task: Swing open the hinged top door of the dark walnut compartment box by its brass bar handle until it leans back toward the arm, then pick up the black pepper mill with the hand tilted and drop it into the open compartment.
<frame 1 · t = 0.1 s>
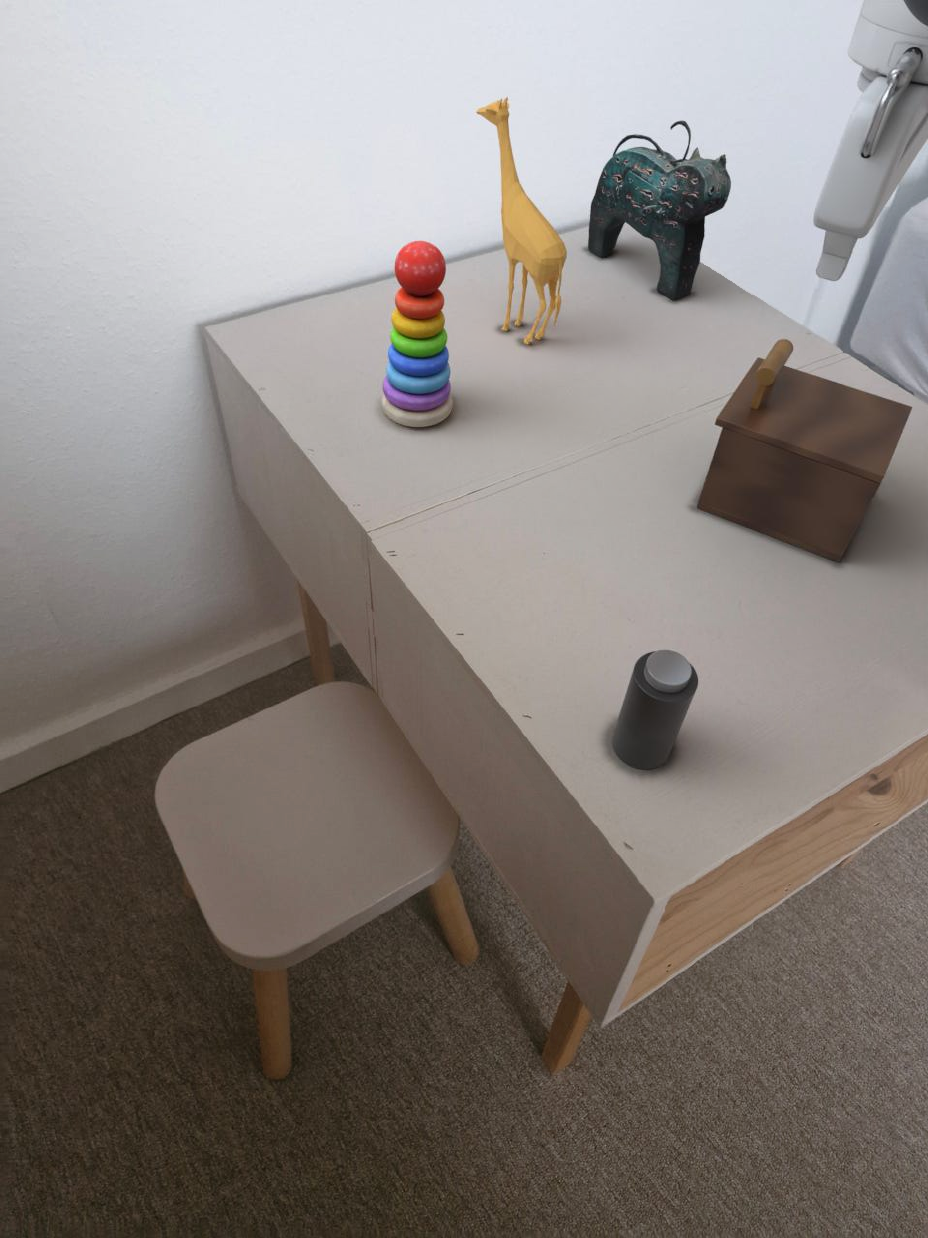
hand: (844, 250, 63), 28 cm above the table, tool pointing down, fingers open, 8 cm apart
ceramic cat: (636, 275, 119), on the table
giraffe: (510, 327, 108), on the table
chest door: (823, 395, 79), point 12 cm above the table, hinge at 0.0°
chest: (783, 499, 88), on the table
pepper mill: (640, 744, 67), on the table
stacking toy: (417, 411, 96), on the table
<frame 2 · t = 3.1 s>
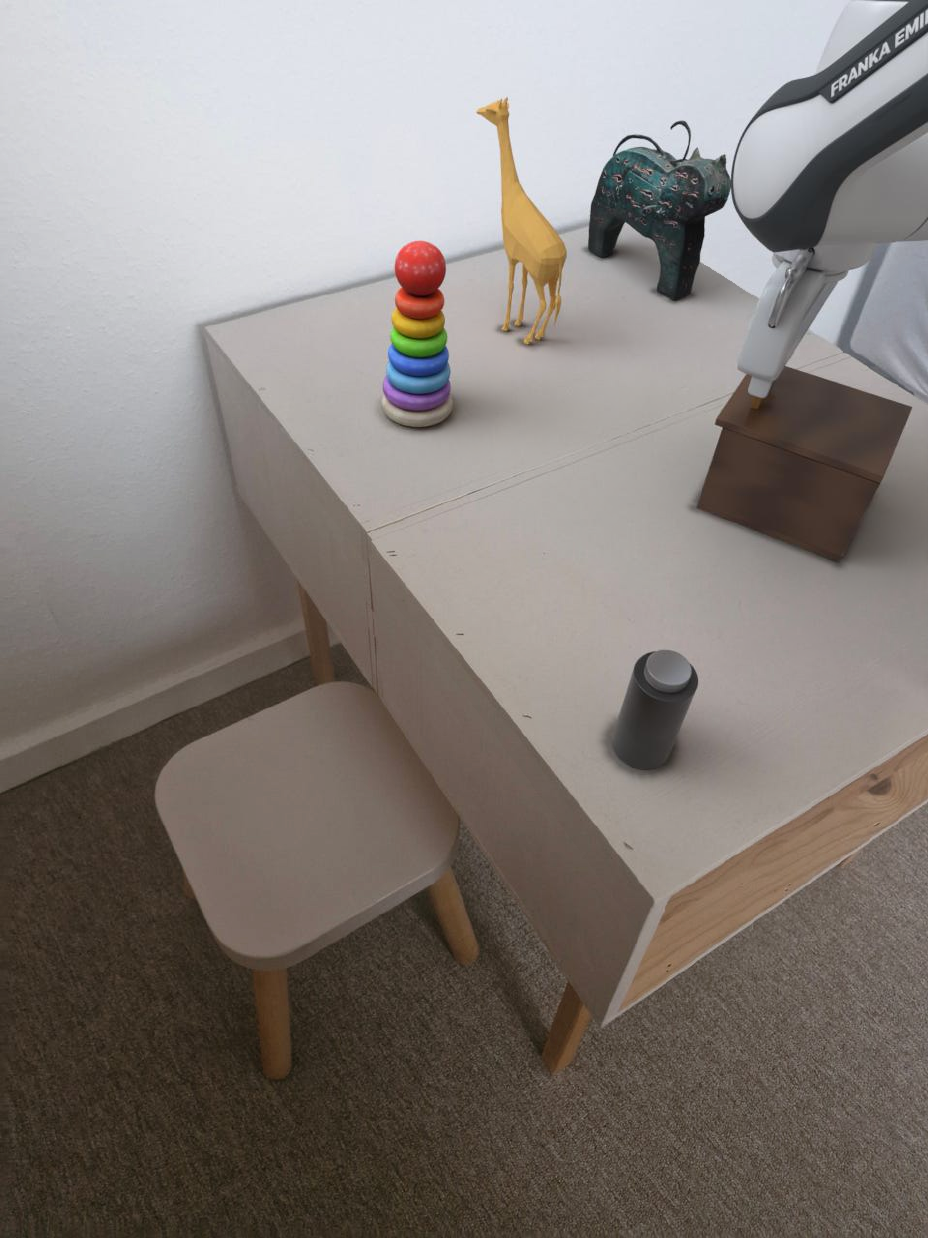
hand: (770, 373, 80), 13 cm above the table, tool pointing down, fingers closed on chest door, 6 cm apart
chest door: (823, 395, 79), point 12 cm above the table, hinge at 0.0°, touching gripper
everything else where it was.
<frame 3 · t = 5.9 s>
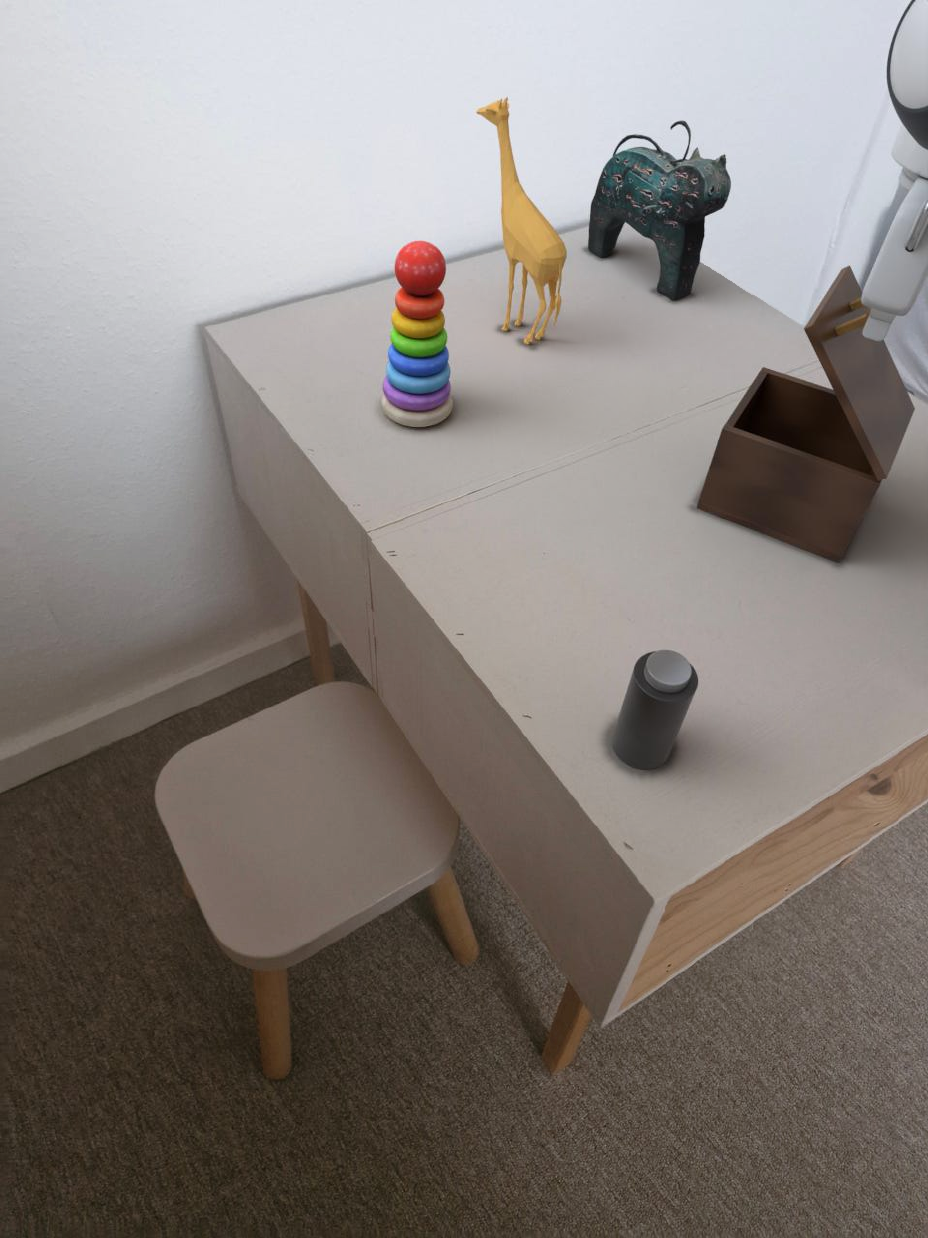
hand: (883, 316, 72), 21 cm above the table, tool pointing down, fingers closed on chest door, 6 cm apart
chest door: (889, 362, 74), point 17 cm above the table, hinge at 46.6°, touching gripper
everything else where it was.
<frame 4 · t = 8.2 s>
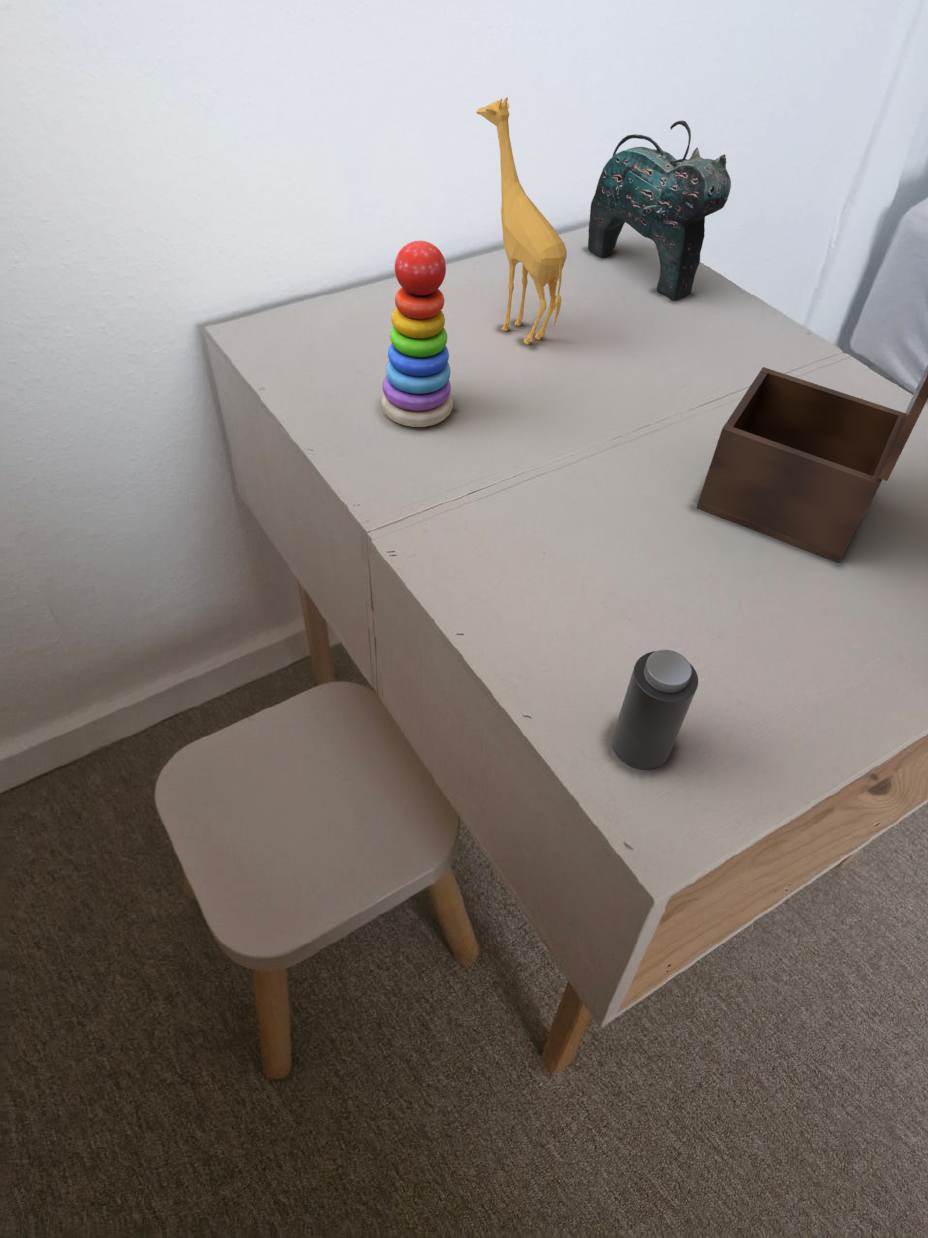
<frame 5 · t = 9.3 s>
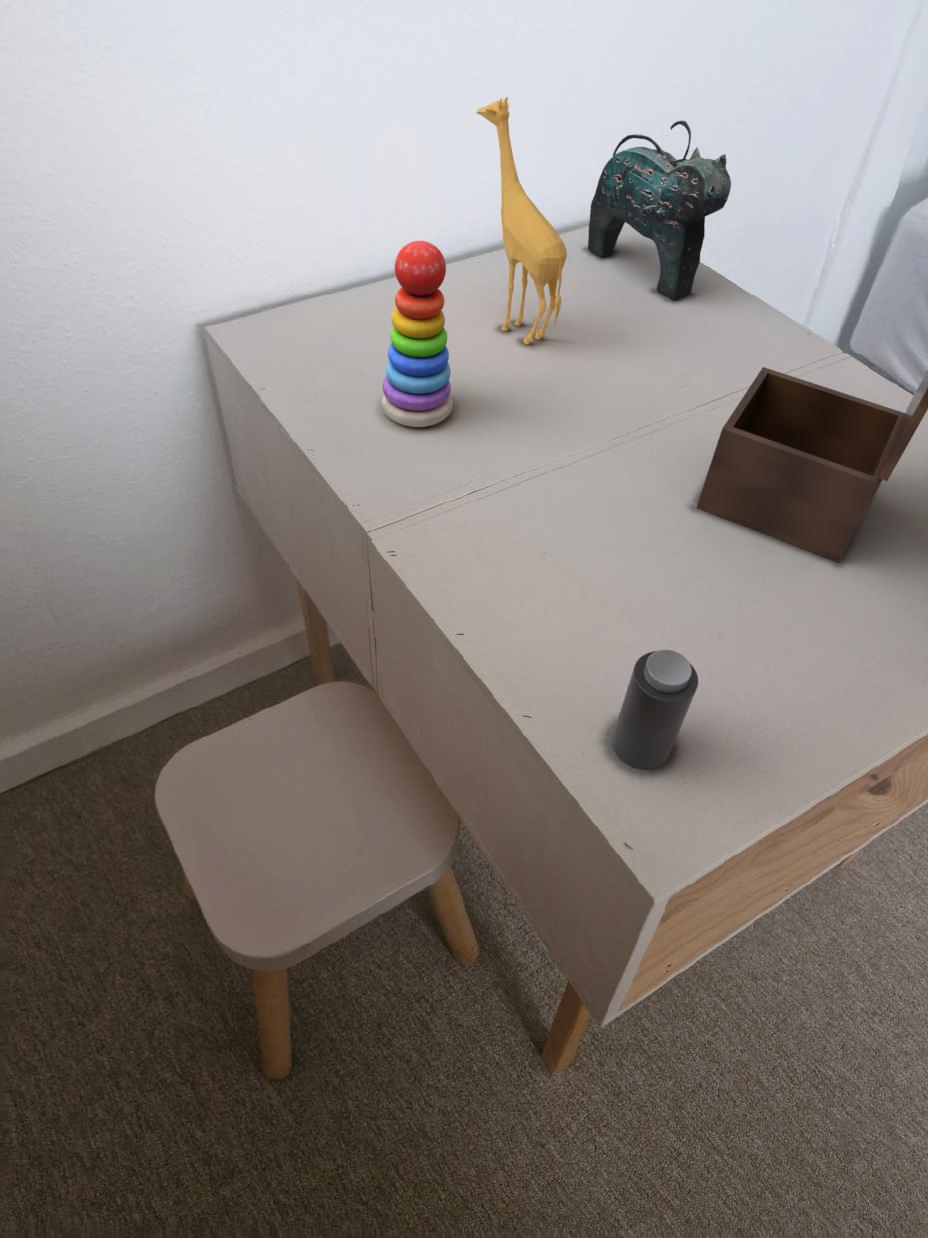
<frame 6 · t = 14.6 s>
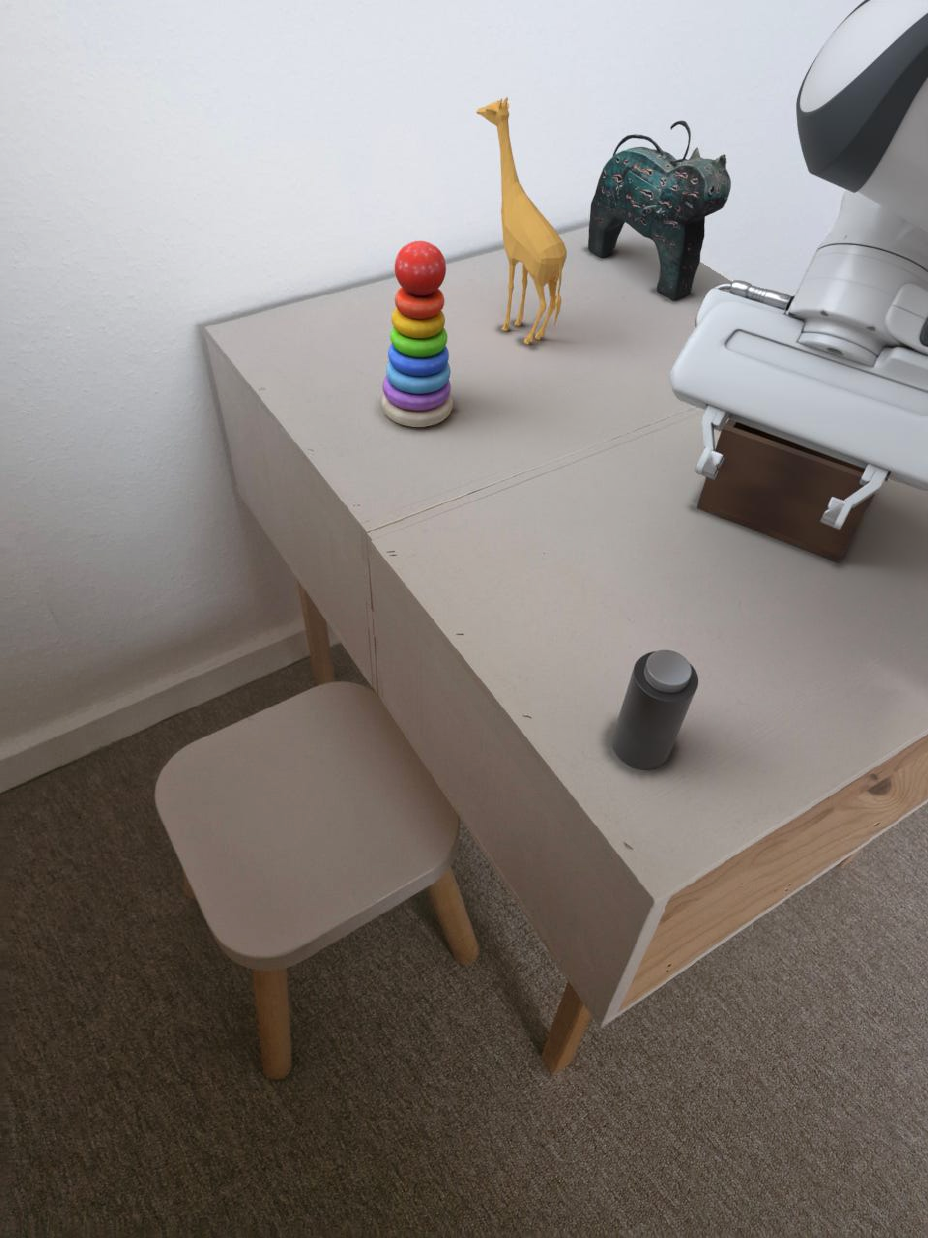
hand: (765, 499, 61), 17 cm above the table, tool tilted 45°, fingers open, 8 cm apart
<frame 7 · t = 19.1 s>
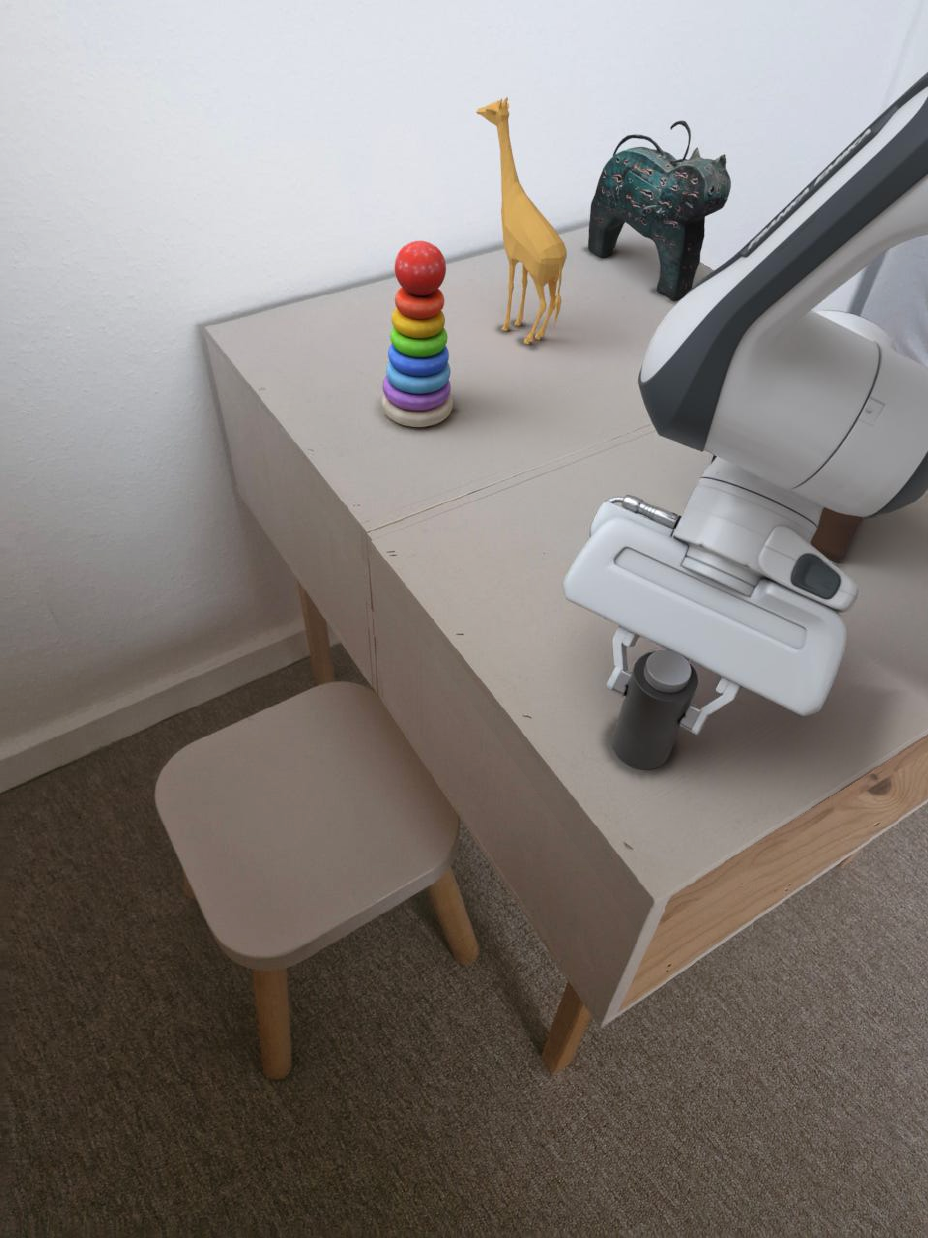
hand: (652, 711, 63), 5 cm above the table, tool tilted 45°, fingers closed on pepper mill, 4 cm apart
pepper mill: (640, 744, 67), on the table, touching gripper
when the fingers open (14 cm above the table, at t = 29.4 s): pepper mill drops 6 cm and tips over, resting on chest.
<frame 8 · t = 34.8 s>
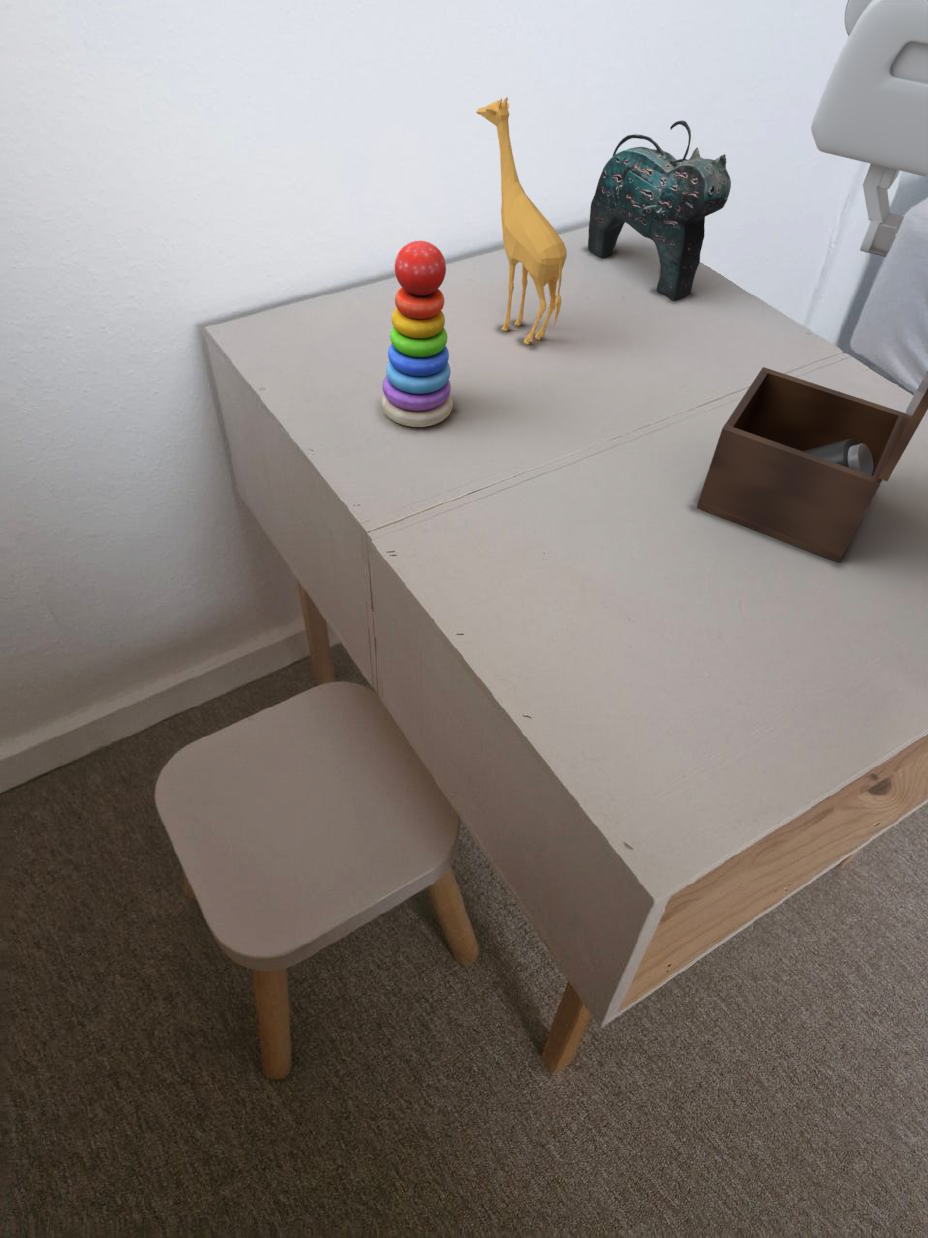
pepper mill: (766, 484, 85), point 3 cm above the table, tilted 49°, touching chest
at the end: chest door at +91° (first picture: +0°); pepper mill inside the target area in the chest (2.9 cm from its centre), point 2.5 cm above the chest's base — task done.
